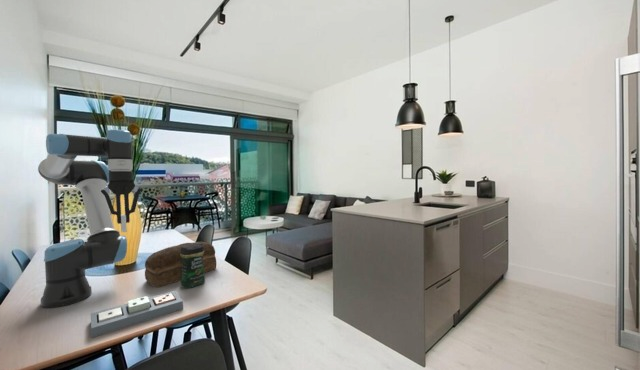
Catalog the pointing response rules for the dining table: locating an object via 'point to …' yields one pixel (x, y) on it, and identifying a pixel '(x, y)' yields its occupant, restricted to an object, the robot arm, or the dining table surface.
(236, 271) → the dining table surface
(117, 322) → the console
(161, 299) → the button three
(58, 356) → the dining table surface
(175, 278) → the bread
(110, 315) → the button one
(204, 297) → the dining table surface
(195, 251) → the coffee jar
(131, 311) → the button two
